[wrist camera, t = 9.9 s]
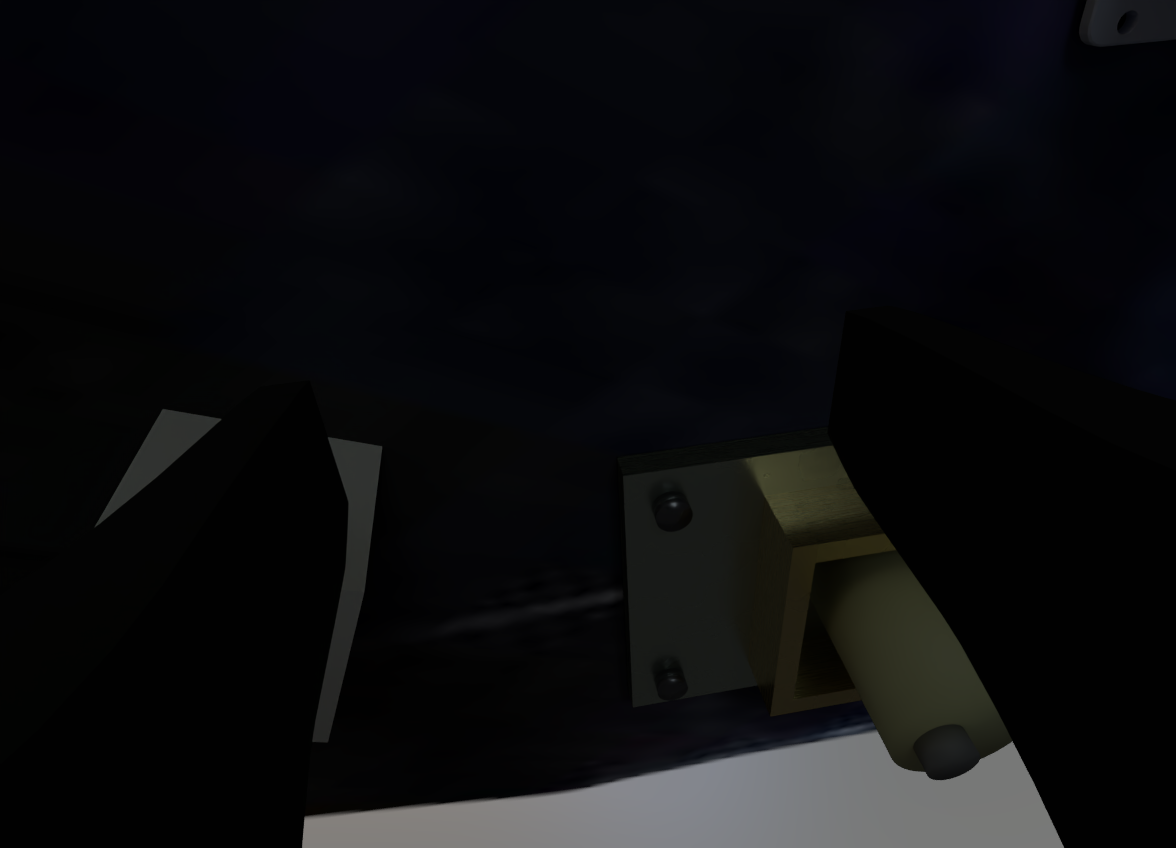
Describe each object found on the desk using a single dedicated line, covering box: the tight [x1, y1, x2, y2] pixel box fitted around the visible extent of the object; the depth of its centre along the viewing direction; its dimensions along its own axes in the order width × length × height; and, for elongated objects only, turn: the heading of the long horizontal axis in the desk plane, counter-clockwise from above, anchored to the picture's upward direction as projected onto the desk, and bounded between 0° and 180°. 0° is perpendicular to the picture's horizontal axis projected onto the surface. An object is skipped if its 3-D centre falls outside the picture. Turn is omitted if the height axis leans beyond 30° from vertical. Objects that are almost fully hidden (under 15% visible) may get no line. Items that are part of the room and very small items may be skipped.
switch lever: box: [810, 550, 1012, 780], centre depth 24 cm, size 5×5×7 cm
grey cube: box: [95, 409, 382, 742], centre depth 21 cm, size 6×6×6 cm
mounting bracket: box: [617, 427, 896, 717], centre depth 27 cm, size 16×12×4 cm
